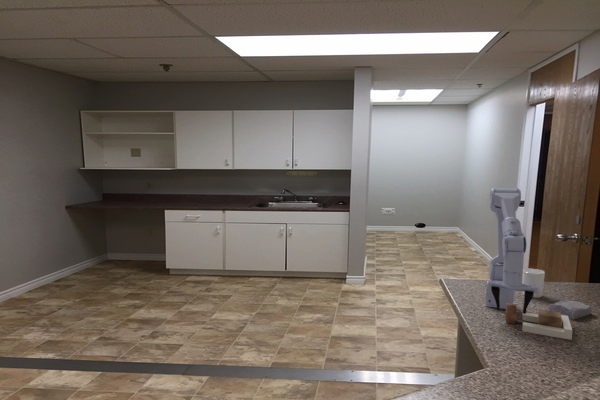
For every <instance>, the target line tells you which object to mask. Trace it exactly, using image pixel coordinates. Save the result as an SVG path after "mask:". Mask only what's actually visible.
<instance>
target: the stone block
mask: <svg viewBox="0 0 600 400" xmlns="http://www.w3.org/2000/svg"><path fill="white" fill-rule="evenodd" d="M548 311H553V312H560V313H561V315H566V316H568V318H569V320H578V319H580V318H584V317H587V316H589V315H591V314H592V312H593V311H592V306H591V305H587V304H586V303H584V302H580V301H576V300H561V301H556V302H555V303H550V304H548Z"/></svg>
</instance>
